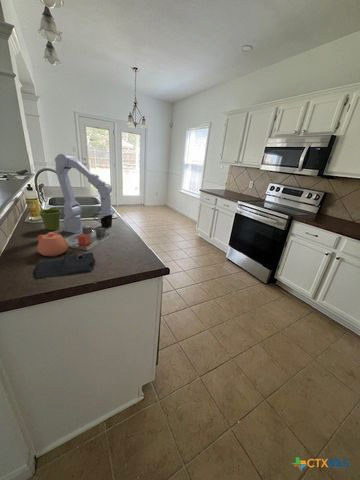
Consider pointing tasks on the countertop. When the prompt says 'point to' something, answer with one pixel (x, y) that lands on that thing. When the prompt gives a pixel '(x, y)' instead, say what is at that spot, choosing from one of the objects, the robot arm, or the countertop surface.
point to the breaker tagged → (100, 232)
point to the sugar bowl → (51, 244)
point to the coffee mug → (102, 221)
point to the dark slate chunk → (65, 266)
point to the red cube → (84, 239)
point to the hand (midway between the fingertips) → (107, 227)
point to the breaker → (86, 229)
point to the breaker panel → (94, 240)
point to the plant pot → (50, 218)
